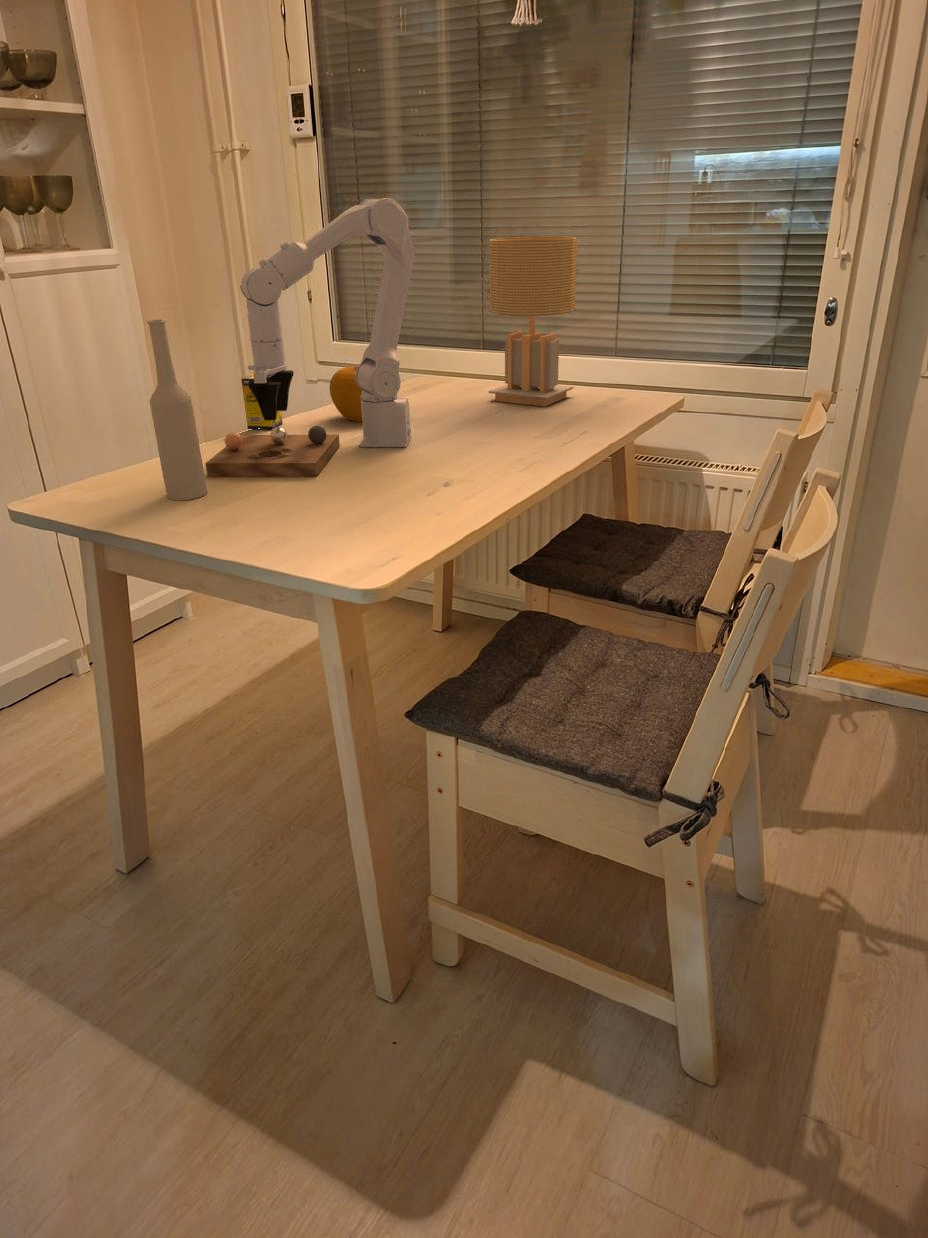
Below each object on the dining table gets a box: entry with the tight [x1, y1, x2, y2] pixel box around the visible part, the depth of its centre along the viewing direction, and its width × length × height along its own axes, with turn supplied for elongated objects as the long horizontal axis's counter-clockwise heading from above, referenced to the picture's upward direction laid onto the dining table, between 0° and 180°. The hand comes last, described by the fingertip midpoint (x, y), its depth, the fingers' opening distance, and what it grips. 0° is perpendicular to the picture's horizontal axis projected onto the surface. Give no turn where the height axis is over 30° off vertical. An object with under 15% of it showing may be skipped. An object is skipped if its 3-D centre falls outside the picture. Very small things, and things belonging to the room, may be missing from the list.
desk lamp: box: [488, 236, 578, 407], centre depth 195 cm, size 20×20×35 cm
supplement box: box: [240, 373, 283, 431], centre depth 182 cm, size 6×6×11 cm
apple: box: [329, 365, 362, 423], centre depth 186 cm, size 13×13×11 cm
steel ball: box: [269, 426, 288, 444], centre depth 160 cm, size 3×3×3 cm
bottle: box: [146, 318, 208, 502], centre depth 136 cm, size 7×7×28 cm
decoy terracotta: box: [224, 432, 243, 450], centre depth 157 cm, size 3×3×3 cm
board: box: [204, 433, 341, 478], centre depth 159 cm, size 20×20×2 cm
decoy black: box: [307, 425, 327, 444], centre depth 159 cm, size 3×3×3 cm
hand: (275, 415), depth 158 cm, fingers open, 7 cm apart
